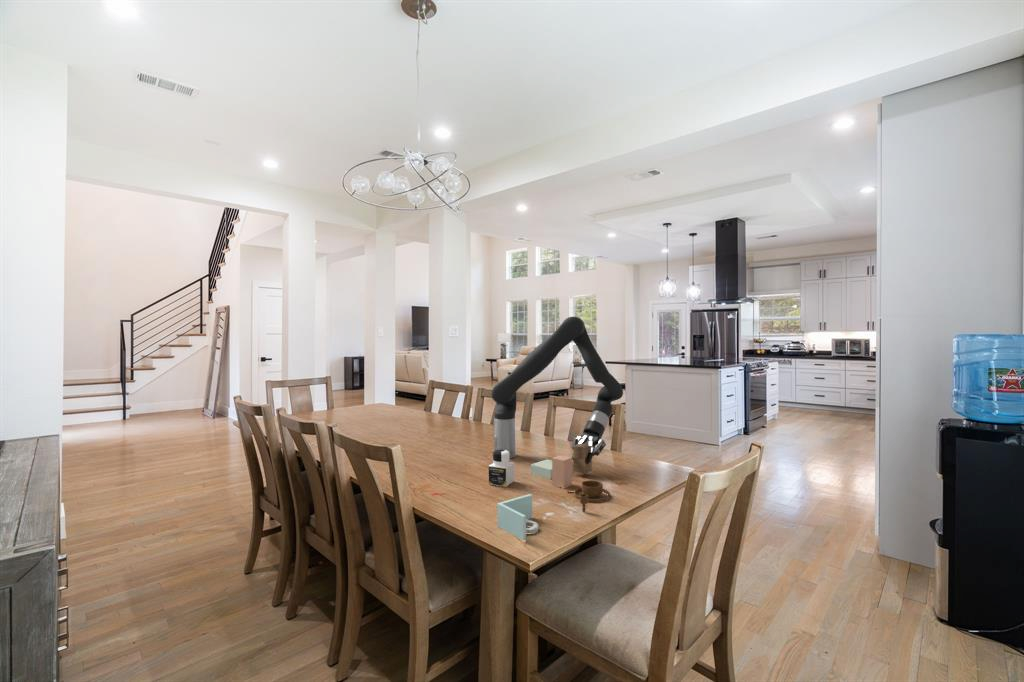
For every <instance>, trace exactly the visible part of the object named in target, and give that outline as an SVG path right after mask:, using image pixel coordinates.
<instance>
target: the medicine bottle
mask: <svg viewBox="0 0 1024 682" xmlns="http://www.w3.org/2000/svg"><path fill="white" fill-rule="evenodd" d="M510 459H511V458H509V451H507V450H496V451H493V452H492V463H490V464H489V465H488V485H490V486H495V485H496V486H497V487H502V486H503V487H504V488H507V487H508V486H510V485H511V484H512V483H513V482H515V463H514V462H511V461H510ZM509 484H510V485H509ZM496 486H495V487H496Z"/></svg>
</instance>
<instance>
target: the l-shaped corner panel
mask: <svg viewBox="0 0 1024 682" xmlns="http://www.w3.org/2000/svg"><path fill="white" fill-rule="evenodd" d="M496 504H497V506H496V508H497V509H496V512H497V515H496V516H497V528H498V527H500V528H502V529H504V530H506V531H507V532H509V533H511V534H513V535H515V536H517V537H518V538H520V539H522V540H526V541H527V535H526V533H533V532H536V531H537V532H539V526H540V525H539V524H538V522H536V521H533V520H531V519H533V518H532V517H533V494H531V493H528V494H525V495H521V496H518V497H515V498H512V499H508V500H505V501H500V502H498V503H496ZM528 518H531V519H528ZM526 519H528V520H526ZM526 526H531V527H526ZM533 534H534V533H533Z"/></svg>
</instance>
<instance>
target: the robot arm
mask: <svg viewBox="0 0 1024 682" xmlns="http://www.w3.org/2000/svg"><path fill="white" fill-rule="evenodd" d="M572 342H574V344H575V346H576V348H577V349H578V350H579V351H578V352H580V355H581V357H582V360H583V362H584V364H585V366H586V368H587V371H588V372H589V374H590V375H591V377H592V379H593V380H594V382H595V383H598V384H599V383H600V384H602V385H603V386H601V388H600V389H599V391H598V392H597V393H598V394H597V398H596V403H595V406H594V408H593V410H592V412H591V414H590V416H589V417H588V420H587V421H586V424H585V426H584V427H583V432H582V434H581V435H579V436H578V435H577V434H574V435H573V439H572V443H571V448H572V451H574V445H577V444H582V443H583V444H588V445H590V450H589V453H588V454H587V457H586V459H585V463H586V464H589V463H590V462H591V459H593V457H594V456H600V454H601V453H602V451H603V450H604V448H605V447H606V446H607V443H606V441H604V439H602V437H603V435H604V432H605V431H606V428H607V426H608V422H609V420H610V418H611V415H612V413H613V409H614V407H613V404H611V403H612V402H615V401H617V400H621V398H622V397H623V395H624V389H623V386H622V385H621V383H620V382H619V381H618V380H617V378H615V377H614V376H613V375H612V374H611V373H610V372H609V370H608V368H607V366H606V365H605V363H604V361H603V360H602V358H601V356H600V354H599V353H598V352H597V351H598V350H596V348H595V347H594V345H593V342H592V341H591V339H590V337H589V333H588V331H587V328H586V326H585V323H584V320H583V319H582V318H580V317H578V316H568V317H567V318H565V319H564V320H563V321H562V323H561V324H560V325H559V326H558V327H557V329H555V331H554V332H553V333H552V334H551V335H550V336H549V337H548V338H547V339H545V340H544V341H542V342H541V343H540V344H539V345H537V346H536V347H535V348H534V349H533V350H531V351H530V353H528V354H527V355H526V357H524V358H523V360H522V361H521V362H520V363H518V365H517V366H516V367H515V368H514V369H513V370H512V371H511V372H510V374H508V375H507V376H505V378H503V379H502V380H500V381H499V382H497V383H496V384H494V386H493V387H492V390H491V397H492V400H493V401H494V402H495V403H496V406H495V410H494V413H493V414H494V415H493V420H494V423H493V424H494V429H493V430H494V435H493V436H494V437H493V438H494V439H493V443H494V444H493V446H494V447H493V449H494V451H496V450H507V451H509V459H513V457H514V458H515V457H516V454H517V453H516V451H517V450H516V412H517V391H518V390H519V389H520V388H521V387H522V386H524V385H525V384H527V383H528V382H530V381H531V380H533V379H534V378H536V377H537V376H538V375H540V374H541V373H542V372H543V371H544V370H545V369H546V368H548V366H549V365H550V364H551V363H552V362H554V360H555V359H556V357H557V356H559V355H558V354H559V353H560V352H561V351H562V350H563V349H564V348H565V347H567V345H569V344H570V343H572ZM494 451H493V452H494ZM571 458H572V462H574V452H573V453H572V456H571Z"/></svg>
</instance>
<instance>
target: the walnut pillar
mask: <svg viewBox="0 0 1024 682" xmlns="http://www.w3.org/2000/svg"><path fill="white" fill-rule="evenodd" d="M589 450H590V445H588V444H583V443H582V444H577V445H574V450H573V453H574V461H573V472H575V473H579V474H583V475H586V474H588V473H590V472H592V470H593V469H592V468H593V467H592V465H593V464H592V462H593V460H592V459H593V458H592V459H591V462H590V463H589V464H586V463H585V459H586V457H587V454H588V453H589Z"/></svg>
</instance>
